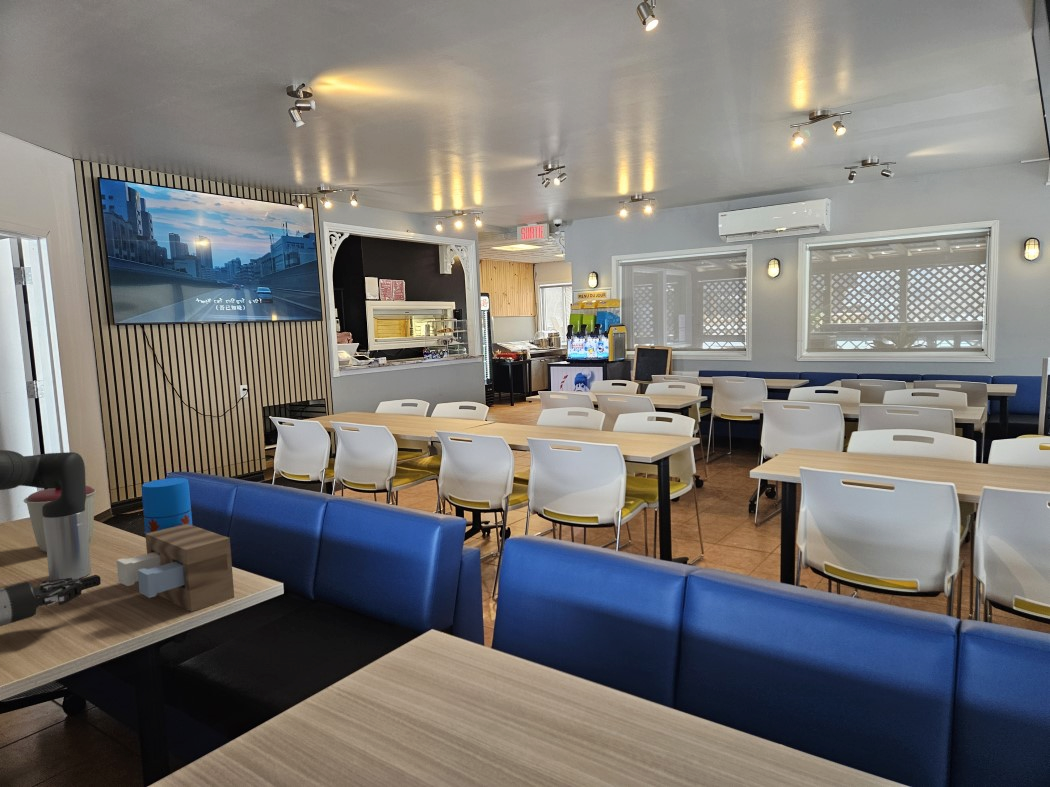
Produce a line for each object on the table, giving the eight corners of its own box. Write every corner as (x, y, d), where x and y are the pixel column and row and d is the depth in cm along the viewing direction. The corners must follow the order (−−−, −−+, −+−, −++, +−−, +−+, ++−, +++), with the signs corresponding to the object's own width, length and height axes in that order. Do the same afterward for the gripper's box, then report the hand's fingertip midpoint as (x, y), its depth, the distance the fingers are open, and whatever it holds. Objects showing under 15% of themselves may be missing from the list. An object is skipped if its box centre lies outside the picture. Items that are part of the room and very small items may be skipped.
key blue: (139, 592, 145) (137, 570, 145) (192, 576, 154) (190, 555, 154) (149, 598, 142) (147, 574, 142) (202, 581, 151) (200, 559, 150)
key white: (118, 581, 153) (116, 560, 152) (169, 566, 162) (168, 546, 161) (127, 586, 150) (125, 564, 149) (179, 570, 158) (177, 550, 158)
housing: (150, 590, 161) (145, 533, 159) (191, 578, 168) (187, 523, 167) (191, 612, 147) (186, 549, 146) (234, 597, 155) (229, 537, 153)
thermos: (176, 584, 164) (167, 487, 162) (139, 582, 166) (130, 487, 164) (205, 569, 175) (197, 477, 172) (170, 567, 177) (163, 477, 175)
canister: (26, 548, 199) (18, 480, 197) (95, 534, 211) (89, 470, 209) (33, 562, 186) (25, 489, 184) (107, 546, 198) (100, 478, 196)
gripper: (11, 595, 129) (108, 569, 143) (-7, 581, 138) (87, 557, 151) (15, 631, 130) (112, 602, 144) (-3, 615, 138) (90, 588, 152)
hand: (99, 579), depth 147 cm, fingers closed
